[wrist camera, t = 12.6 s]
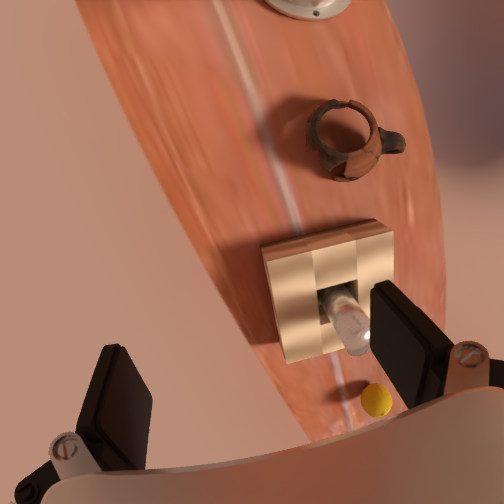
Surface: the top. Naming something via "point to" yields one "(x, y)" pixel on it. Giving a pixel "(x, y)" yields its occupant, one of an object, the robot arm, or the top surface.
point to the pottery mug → (361, 158)
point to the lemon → (376, 400)
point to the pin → (346, 318)
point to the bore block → (323, 281)
